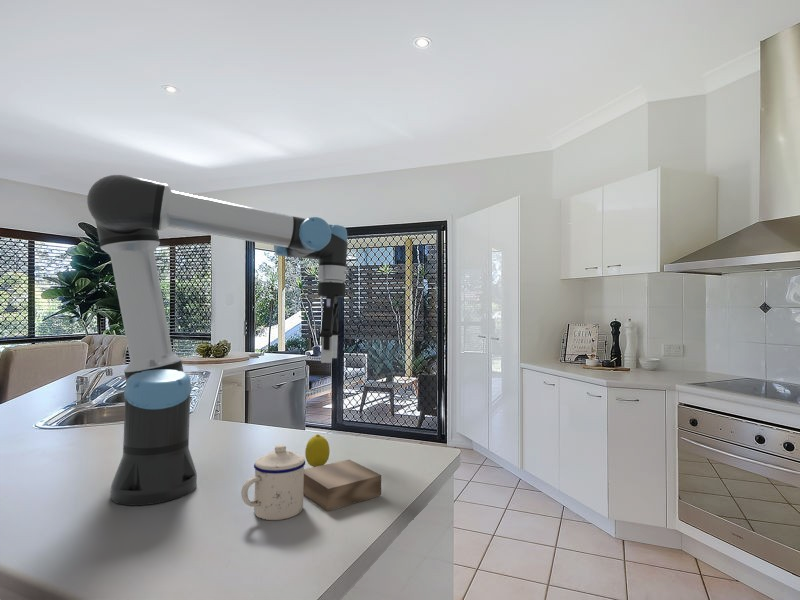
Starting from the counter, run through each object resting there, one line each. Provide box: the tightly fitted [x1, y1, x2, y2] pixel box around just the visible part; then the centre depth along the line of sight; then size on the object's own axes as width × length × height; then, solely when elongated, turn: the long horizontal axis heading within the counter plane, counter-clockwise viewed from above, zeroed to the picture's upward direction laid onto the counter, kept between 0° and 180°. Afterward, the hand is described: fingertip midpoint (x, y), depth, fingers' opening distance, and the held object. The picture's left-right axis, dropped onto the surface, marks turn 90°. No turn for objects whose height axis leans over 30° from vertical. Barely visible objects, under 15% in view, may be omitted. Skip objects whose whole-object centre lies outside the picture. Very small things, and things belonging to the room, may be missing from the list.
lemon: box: [304, 433, 330, 468], centre depth 103 cm, size 6×6×8 cm
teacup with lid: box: [240, 444, 306, 521], centre depth 80 cm, size 12×9×12 cm
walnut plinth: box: [303, 459, 382, 512], centre depth 90 cm, size 12×12×4 cm
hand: (329, 360), depth 121 cm, fingers open, 13 cm apart
